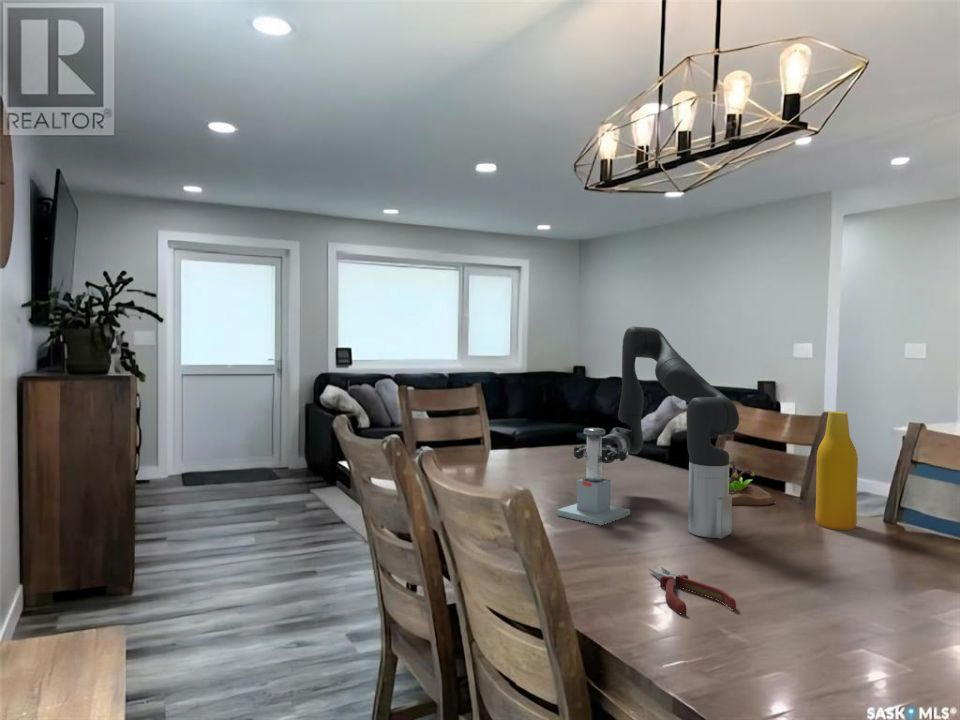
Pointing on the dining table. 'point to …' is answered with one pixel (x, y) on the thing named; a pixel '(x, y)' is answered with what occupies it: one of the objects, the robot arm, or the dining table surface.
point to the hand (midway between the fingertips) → (592, 456)
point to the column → (594, 454)
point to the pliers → (671, 580)
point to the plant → (746, 490)
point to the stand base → (593, 504)
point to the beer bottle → (836, 476)
